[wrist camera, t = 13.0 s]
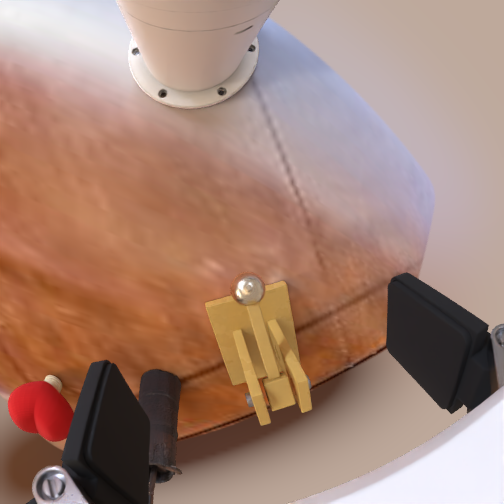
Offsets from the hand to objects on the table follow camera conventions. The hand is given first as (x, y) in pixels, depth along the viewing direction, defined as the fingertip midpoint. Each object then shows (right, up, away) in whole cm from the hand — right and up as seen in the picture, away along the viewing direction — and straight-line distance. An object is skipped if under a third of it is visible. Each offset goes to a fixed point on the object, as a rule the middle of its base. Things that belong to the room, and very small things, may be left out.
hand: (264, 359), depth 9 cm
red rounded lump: (-27, -14, +23) cm, 38 cm away
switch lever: (+1, -5, +19) cm, 20 cm away
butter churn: (-11, -13, +26) cm, 31 cm away
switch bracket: (0, -6, +26) cm, 27 cm away
